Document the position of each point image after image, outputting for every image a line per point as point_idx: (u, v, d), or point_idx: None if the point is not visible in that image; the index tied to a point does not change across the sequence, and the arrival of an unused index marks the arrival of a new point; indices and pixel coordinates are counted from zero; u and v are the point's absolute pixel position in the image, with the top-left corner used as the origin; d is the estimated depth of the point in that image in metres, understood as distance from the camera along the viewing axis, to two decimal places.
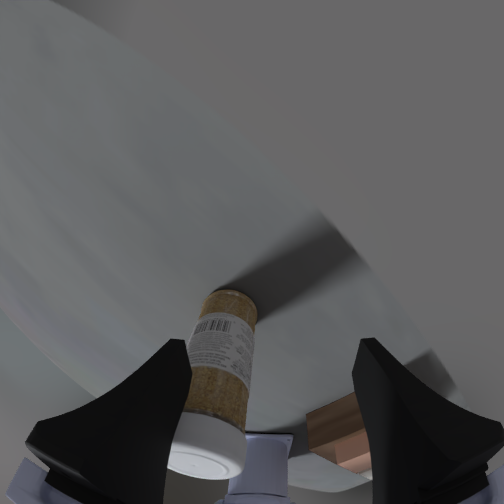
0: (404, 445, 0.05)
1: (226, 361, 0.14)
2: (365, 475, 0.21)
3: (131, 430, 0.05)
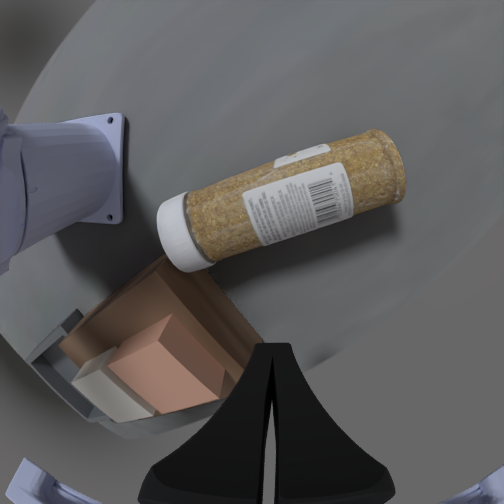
0: None
1: (274, 241, 0.14)
2: (93, 377, 0.14)
3: (263, 448, 0.05)
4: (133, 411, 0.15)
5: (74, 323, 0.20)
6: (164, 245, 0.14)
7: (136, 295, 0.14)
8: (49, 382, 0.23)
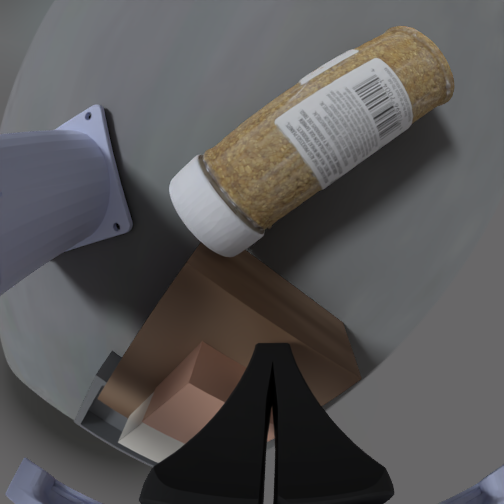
0: None
1: (334, 176, 0.10)
2: (139, 432, 0.11)
3: (264, 448, 0.05)
4: None
5: (112, 368, 0.18)
6: (189, 223, 0.10)
7: (169, 307, 0.11)
8: (106, 440, 0.21)
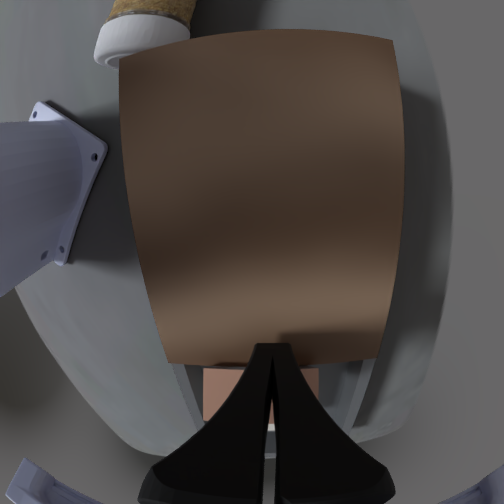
0: None
1: None
2: None
3: (263, 448, 0.05)
4: None
5: None
6: (110, 45, 0.07)
7: (130, 106, 0.08)
8: None
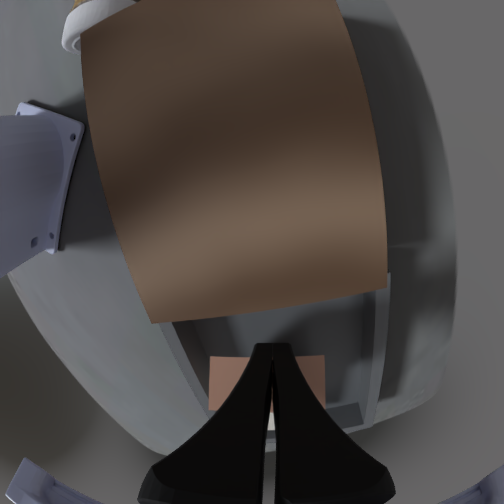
0: (277, 462, 0.05)
1: None
2: None
3: None
4: None
5: None
6: (73, 28, 0.07)
7: (91, 66, 0.07)
8: None
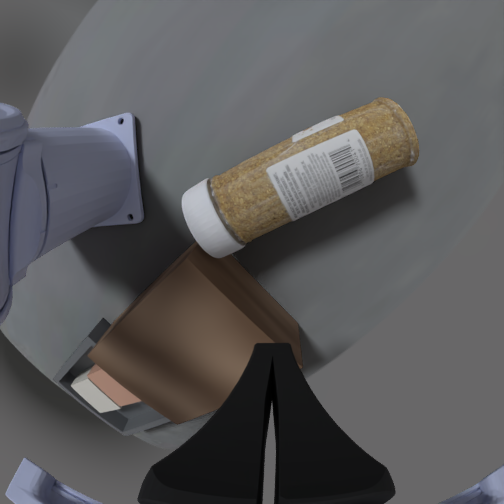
0: None
1: (303, 213, 0.14)
2: None
3: (263, 448, 0.05)
4: None
5: (102, 332, 0.21)
6: (193, 231, 0.14)
7: (168, 287, 0.15)
8: (80, 399, 0.24)
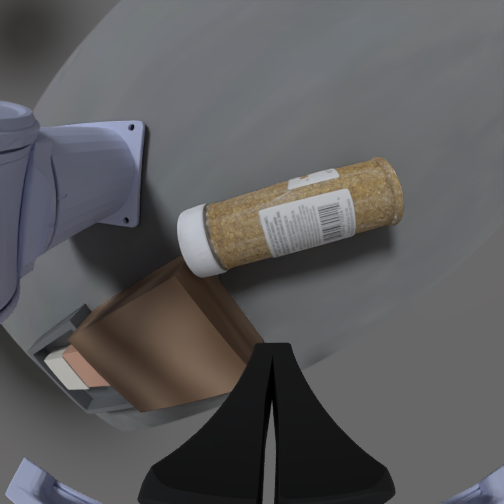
0: None
1: (284, 254, 0.16)
2: None
3: (263, 448, 0.05)
4: None
5: (82, 318, 0.22)
6: (184, 253, 0.15)
7: (154, 296, 0.16)
8: (51, 374, 0.25)
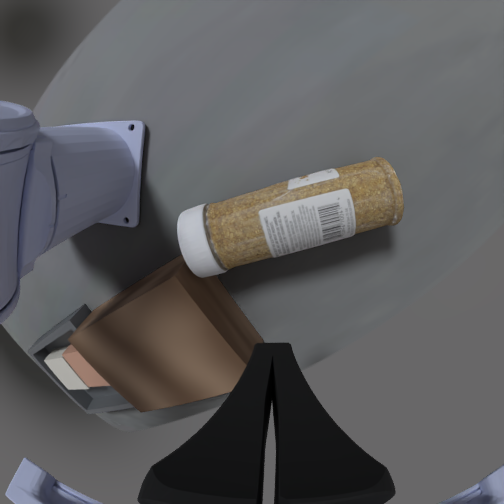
0: None
1: (284, 254, 0.16)
2: None
3: (263, 448, 0.05)
4: None
5: (82, 318, 0.22)
6: (184, 253, 0.15)
7: (154, 296, 0.16)
8: (51, 374, 0.25)
